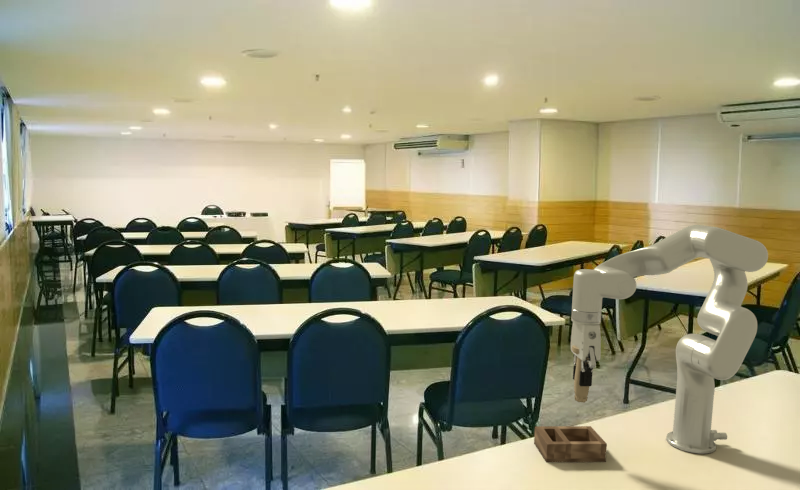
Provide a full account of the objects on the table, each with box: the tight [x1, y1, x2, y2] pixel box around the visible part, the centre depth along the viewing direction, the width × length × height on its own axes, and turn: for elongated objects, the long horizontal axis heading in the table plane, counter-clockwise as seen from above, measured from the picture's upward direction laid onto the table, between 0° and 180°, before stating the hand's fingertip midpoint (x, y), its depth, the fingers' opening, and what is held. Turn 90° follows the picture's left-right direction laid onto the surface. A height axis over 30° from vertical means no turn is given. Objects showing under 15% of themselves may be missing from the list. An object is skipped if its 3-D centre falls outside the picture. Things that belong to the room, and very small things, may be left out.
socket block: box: [533, 425, 608, 463], centre depth 160 cm, size 16×11×5 cm
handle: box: [571, 345, 590, 403], centre depth 158 cm, size 5×6×15 cm
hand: (582, 382), depth 159 cm, fingers closed on handle, 3 cm apart
